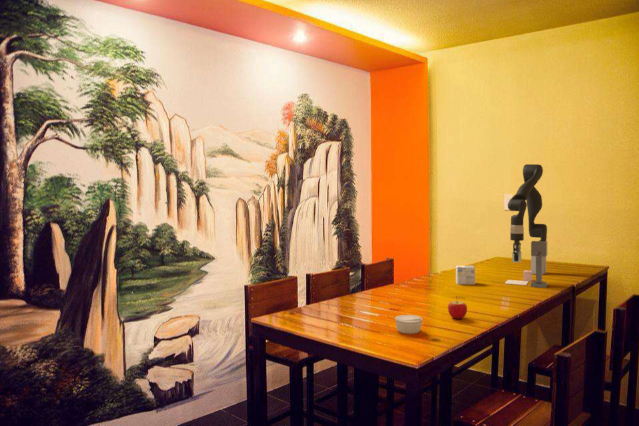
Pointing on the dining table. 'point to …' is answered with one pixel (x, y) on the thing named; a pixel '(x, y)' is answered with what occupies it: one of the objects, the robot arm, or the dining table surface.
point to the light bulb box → (465, 275)
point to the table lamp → (539, 261)
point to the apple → (457, 309)
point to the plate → (516, 282)
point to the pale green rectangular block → (518, 257)
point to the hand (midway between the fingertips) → (516, 260)
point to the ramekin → (408, 324)
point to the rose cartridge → (527, 275)
